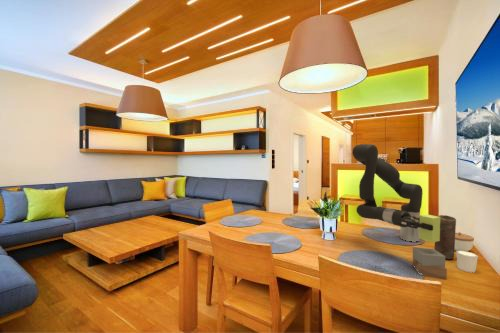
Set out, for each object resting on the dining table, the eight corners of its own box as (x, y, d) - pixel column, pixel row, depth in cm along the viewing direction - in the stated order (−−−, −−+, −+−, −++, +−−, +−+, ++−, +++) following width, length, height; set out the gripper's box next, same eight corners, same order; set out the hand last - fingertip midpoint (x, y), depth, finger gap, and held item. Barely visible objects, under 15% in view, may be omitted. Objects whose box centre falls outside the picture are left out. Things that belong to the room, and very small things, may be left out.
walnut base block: (412, 266, 101) (412, 256, 101) (437, 269, 98) (437, 259, 98) (419, 275, 93) (419, 265, 93) (446, 280, 89) (446, 269, 89)
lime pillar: (419, 238, 96) (419, 215, 96) (426, 236, 98) (427, 214, 98) (432, 242, 92) (433, 218, 91) (439, 240, 94) (440, 217, 93)
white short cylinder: (465, 265, 101) (466, 250, 101) (482, 273, 94) (482, 256, 94) (451, 265, 101) (451, 250, 101) (466, 273, 94) (467, 257, 94)
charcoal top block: (412, 257, 100) (412, 247, 100) (432, 258, 98) (433, 248, 98) (422, 265, 92) (423, 254, 92) (445, 267, 91) (445, 256, 90)
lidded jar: (459, 246, 124) (459, 229, 123) (479, 254, 113) (480, 235, 113) (440, 246, 123) (440, 229, 123) (458, 254, 113) (459, 236, 112)
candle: (455, 257, 109) (456, 216, 108) (453, 262, 104) (455, 219, 103) (435, 252, 115) (436, 214, 114) (432, 257, 110) (434, 216, 109)
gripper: (386, 210, 105) (426, 220, 89) (406, 208, 111) (447, 216, 95) (385, 226, 105) (425, 238, 90) (405, 223, 111) (446, 234, 95)
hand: (436, 227), depth 92 cm, fingers closed on lime pillar, 5 cm apart
